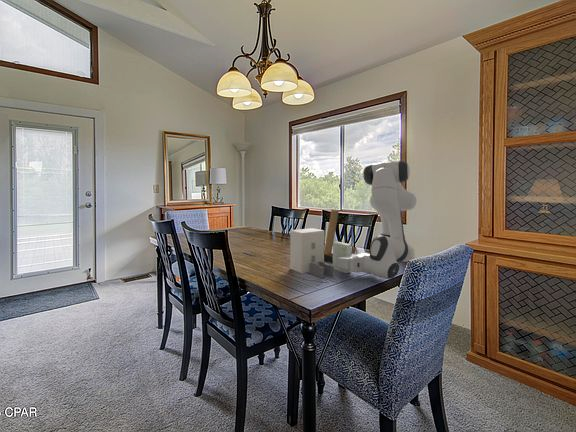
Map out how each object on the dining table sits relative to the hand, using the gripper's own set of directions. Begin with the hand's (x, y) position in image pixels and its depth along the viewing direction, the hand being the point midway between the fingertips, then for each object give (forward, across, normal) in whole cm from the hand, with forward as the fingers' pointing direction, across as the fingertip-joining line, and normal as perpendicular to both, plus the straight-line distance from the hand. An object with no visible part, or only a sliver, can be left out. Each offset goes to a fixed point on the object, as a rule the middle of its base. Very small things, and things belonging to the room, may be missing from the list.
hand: (344, 256), depth 154 cm
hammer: (+22, -7, +8) cm, 24 cm away
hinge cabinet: (+8, +13, +8) cm, 17 cm away
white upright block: (+2, 0, +8) cm, 8 cm away
